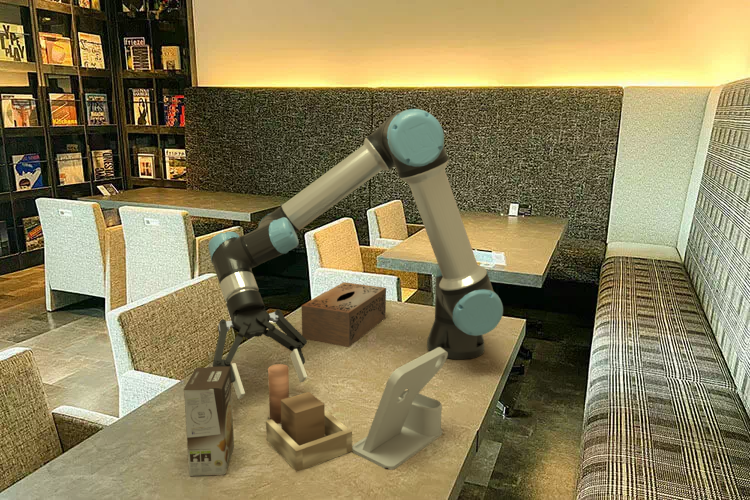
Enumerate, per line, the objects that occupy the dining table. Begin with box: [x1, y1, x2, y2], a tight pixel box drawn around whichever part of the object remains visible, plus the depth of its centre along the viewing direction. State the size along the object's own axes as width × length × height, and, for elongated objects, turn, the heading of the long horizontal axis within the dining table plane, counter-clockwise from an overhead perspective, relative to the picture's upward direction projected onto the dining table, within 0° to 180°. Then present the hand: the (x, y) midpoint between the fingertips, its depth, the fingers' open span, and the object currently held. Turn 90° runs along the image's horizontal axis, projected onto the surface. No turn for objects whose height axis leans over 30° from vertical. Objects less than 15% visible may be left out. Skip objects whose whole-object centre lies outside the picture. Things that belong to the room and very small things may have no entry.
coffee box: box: [183, 366, 235, 477], centre depth 100 cm, size 9×6×16 cm
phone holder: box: [351, 347, 448, 471], centre depth 107 cm, size 17×10×18 cm, turn 140°
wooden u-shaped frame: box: [265, 409, 353, 473], centre depth 107 cm, size 12×11×4 cm
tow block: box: [267, 363, 326, 446], centre depth 111 cm, size 15×6×11 cm, turn 35°
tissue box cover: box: [301, 281, 387, 348], centre depth 167 cm, size 26×14×10 cm, turn 156°
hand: (273, 388), depth 115 cm, fingers open, 13 cm apart
